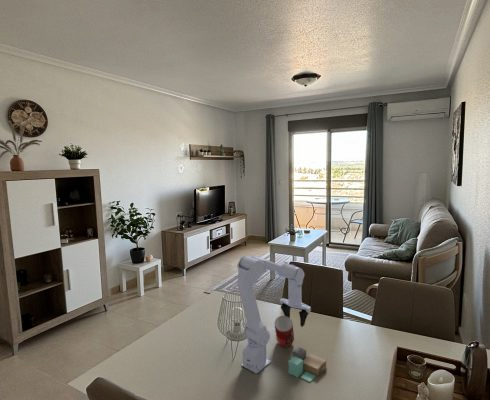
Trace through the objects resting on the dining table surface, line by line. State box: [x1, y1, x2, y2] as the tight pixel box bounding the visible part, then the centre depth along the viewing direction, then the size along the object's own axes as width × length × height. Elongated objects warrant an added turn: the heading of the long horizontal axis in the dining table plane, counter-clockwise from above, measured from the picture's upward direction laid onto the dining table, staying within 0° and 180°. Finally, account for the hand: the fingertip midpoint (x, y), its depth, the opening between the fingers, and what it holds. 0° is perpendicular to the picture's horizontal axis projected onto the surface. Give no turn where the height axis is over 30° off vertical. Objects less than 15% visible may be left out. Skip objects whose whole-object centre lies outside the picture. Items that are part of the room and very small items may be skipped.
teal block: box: [288, 356, 304, 378], centre depth 122 cm, size 4×4×5 cm
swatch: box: [300, 371, 316, 383], centre depth 119 cm, size 4×4×1 cm
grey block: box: [291, 346, 307, 360], centre depth 128 cm, size 4×4×5 cm
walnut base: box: [303, 353, 327, 378], centre depth 124 cm, size 7×7×4 cm
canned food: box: [274, 315, 295, 347], centre depth 140 cm, size 8×8×11 cm
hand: (295, 323), depth 140 cm, fingers open, 7 cm apart
